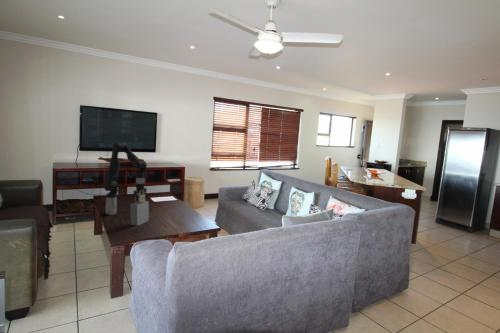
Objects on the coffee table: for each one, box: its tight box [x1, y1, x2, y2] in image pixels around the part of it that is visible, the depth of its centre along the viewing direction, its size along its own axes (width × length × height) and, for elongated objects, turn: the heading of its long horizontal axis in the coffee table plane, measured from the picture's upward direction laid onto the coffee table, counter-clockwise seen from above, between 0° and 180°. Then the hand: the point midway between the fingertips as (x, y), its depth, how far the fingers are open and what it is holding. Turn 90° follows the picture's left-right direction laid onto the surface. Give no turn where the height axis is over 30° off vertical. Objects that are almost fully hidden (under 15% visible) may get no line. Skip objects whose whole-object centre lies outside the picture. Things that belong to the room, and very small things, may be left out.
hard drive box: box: [130, 200, 150, 227], centre depth 267 cm, size 16×8×20 cm, turn 158°
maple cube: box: [134, 193, 146, 202], centre depth 265 cm, size 6×6×6 cm
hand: (140, 200), depth 265 cm, fingers closed on maple cube, 6 cm apart
